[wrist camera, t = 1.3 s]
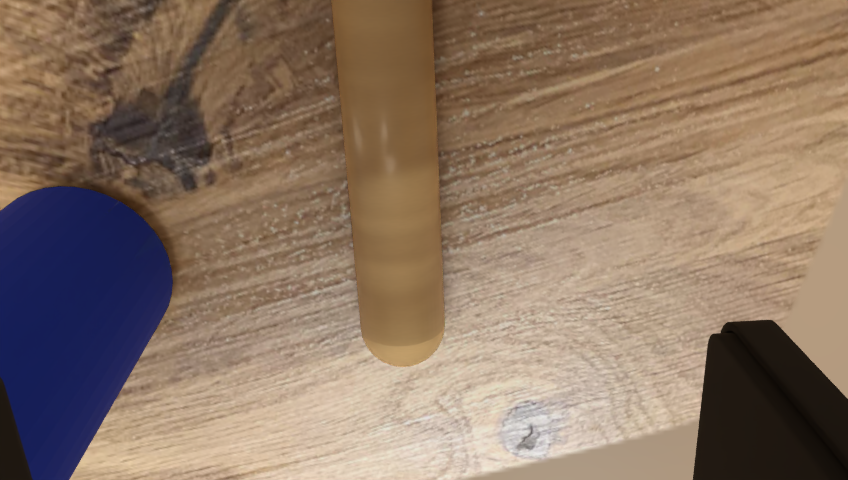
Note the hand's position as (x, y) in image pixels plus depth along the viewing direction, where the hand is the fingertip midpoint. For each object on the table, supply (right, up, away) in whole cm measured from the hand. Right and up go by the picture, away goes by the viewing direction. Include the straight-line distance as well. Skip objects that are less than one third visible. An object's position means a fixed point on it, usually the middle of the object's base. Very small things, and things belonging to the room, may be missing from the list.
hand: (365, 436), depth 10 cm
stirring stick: (0, +5, +11) cm, 12 cm away
